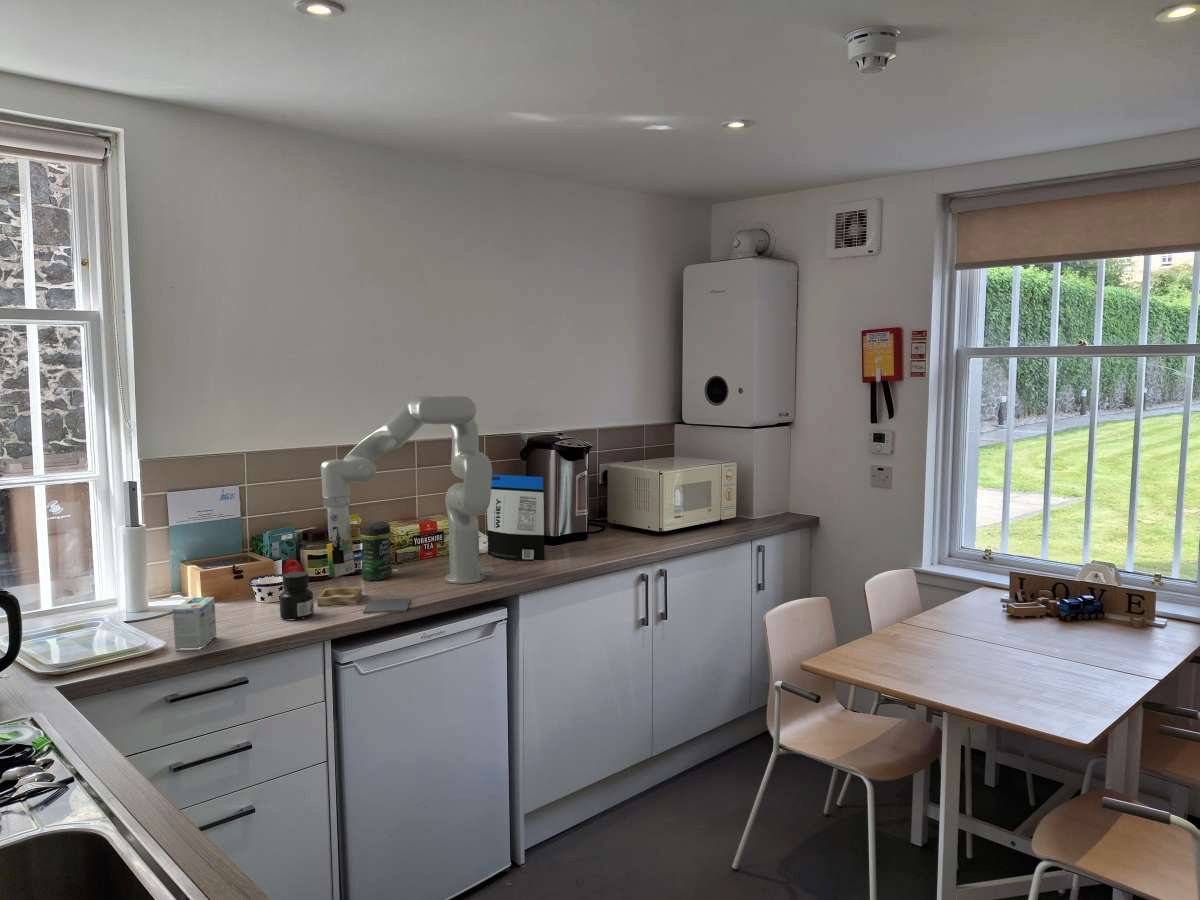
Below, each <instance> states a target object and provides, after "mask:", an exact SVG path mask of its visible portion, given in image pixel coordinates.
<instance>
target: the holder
mask: <svg viewBox="0 0 1200 900" xmlns="http://www.w3.org/2000/svg"><path fill="white" fill-rule="evenodd" d="M362 588H363V587H361V586H360V587H356V586H355V587H337V588H332V587H331V588H324V589H323V590H322V591H321V593H320V594H319V595H318V597H317V598H316V600H317V607H318V606H320V607H332V606H331V605H343V606H351V605H350V604H353V605H352V606H356V605H357V604H358V603H357V602H359V601H360V599H361V598H362V596H363V589H362ZM360 597H361V598H360ZM348 604H349V605H348ZM355 604H356V605H355Z"/></svg>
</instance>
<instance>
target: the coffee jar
mask: <svg viewBox="0 0 1200 900" xmlns="http://www.w3.org/2000/svg"><path fill="white" fill-rule="evenodd" d="M390 537H391V526H390V524H389V522H385V521H375V522H372V523H367V524H362V526H361V527H360V539H361V543H362V544H361V545H362V548H361V549H362V554H361V555H362V556H361V575H360V576H361V579H362V580H365V581H368V582H370V581H380V580H384V579H387V578H390V577H392V571H393V570H392V563H391V553H390V552H391V551H390Z"/></svg>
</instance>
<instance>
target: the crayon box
mask: <svg viewBox="0 0 1200 900" xmlns="http://www.w3.org/2000/svg"><path fill="white" fill-rule="evenodd" d="M352 535H353V534H352V533H351V534H350V537H349V538H348V539H347V540H346V541H344V540H342V550H343V552H344V563H343V564H333V560H332V542H331V543H327V544H326V552H327V553H326V554H327V560H328V561H327V562H328V563H327V564H328V574H329V575H328V576H329V577H331V578H337V577H340V576H344V575H347V574H351V573H355V571H356V570H355V561H354V559H355V558H354V548H353V547H354V546H353V536H352ZM339 539H340V538H339ZM337 540H338V539H337ZM339 545H340V543H339Z"/></svg>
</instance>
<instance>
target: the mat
mask: <svg viewBox="0 0 1200 900" xmlns="http://www.w3.org/2000/svg"><path fill="white" fill-rule="evenodd" d="M411 601H412V598H390V599H389V598H388V599H387V598H386V599H369V600H368V602H367V604H366V606H365V607H364V610H362V613H365V614H372V613H371V612H388V613H405V612H406V613H407V611H408V608H409V607H408V606H410V604H409V603H411Z"/></svg>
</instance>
